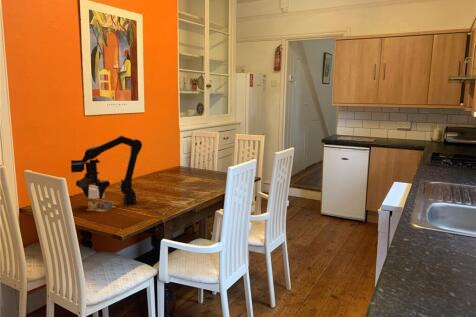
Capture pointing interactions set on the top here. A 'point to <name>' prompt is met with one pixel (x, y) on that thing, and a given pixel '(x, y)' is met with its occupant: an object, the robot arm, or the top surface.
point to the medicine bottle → (94, 192)
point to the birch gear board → (100, 208)
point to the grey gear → (106, 205)
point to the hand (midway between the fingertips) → (93, 198)
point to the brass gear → (94, 205)
